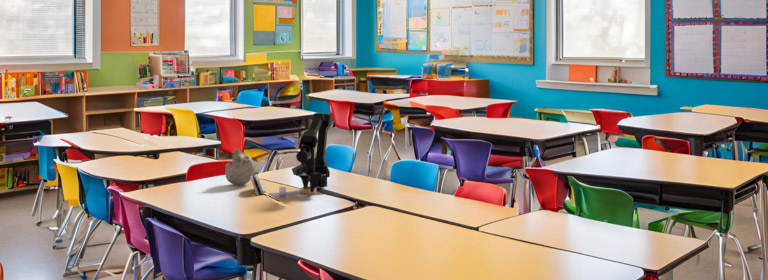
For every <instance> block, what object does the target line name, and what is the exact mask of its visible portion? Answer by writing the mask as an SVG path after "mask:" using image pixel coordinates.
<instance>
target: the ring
mask: <svg viewBox="0 0 768 280" xmlns="http://www.w3.org/2000/svg"><path fill="white" fill-rule="evenodd" d="M300 190H301V193H303V194H315V193H316V191H317V187H315V189H314V191H313V192H311V190H310V185H308V186H307V187H304V186H302V187H301V188H300Z"/></svg>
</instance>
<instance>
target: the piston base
mask: <svg viewBox="0 0 768 280" xmlns="http://www.w3.org/2000/svg"><path fill="white" fill-rule="evenodd" d="M278 189H279V190H278V192H272V193H271V192H270V193H268V195H267V197H268V196H269V197H268V198H271V199H272V200H275V201H277V202H280V200H283V199H285V200H286V199H293V198H301V197H303V198H304V197H313V196H321V195H322V196H323V195H325V194H324V193H321V192H320V191H317V190H316V193H315V194H303V193H301V189H300V190H299V189H298V190H291V191H287V187H286V186H279V188H278Z"/></svg>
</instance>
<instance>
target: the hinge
mask: <svg viewBox="0 0 768 280" xmlns="http://www.w3.org/2000/svg"><path fill="white" fill-rule="evenodd" d="M250 178H251V180H250V181H251V184H252V187H253V189H254V193H255V195H256V196H259V195H260V194H261V195H262V194H264V193H267V192H266V191H267V190H266V186H265V185H264V184H262V182H261V179H260V177H259V175H258V173H256V174H255V173H254V174H253V175H252V176H251V177H250Z"/></svg>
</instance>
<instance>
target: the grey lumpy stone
mask: <svg viewBox="0 0 768 280" xmlns="http://www.w3.org/2000/svg"><path fill="white" fill-rule="evenodd" d="M231 160H232V161H231V162H228V163H226V164H225V170H224V171H225V172H224V173H225V178H226V180H227V181H228V182H229V184H232V185H234V186H244V185H246V184H248V183H249V182H250V181H251V178H250V177H251V176H252V175H253V176H254V175H255V171H256V165H255V162H254V160H253V159H252V157H251V156H250V155H248V154H246V152H242V151H241V150H240V148H239V147H238V148H236V147H234V149H233V150H232V154H231Z"/></svg>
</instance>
